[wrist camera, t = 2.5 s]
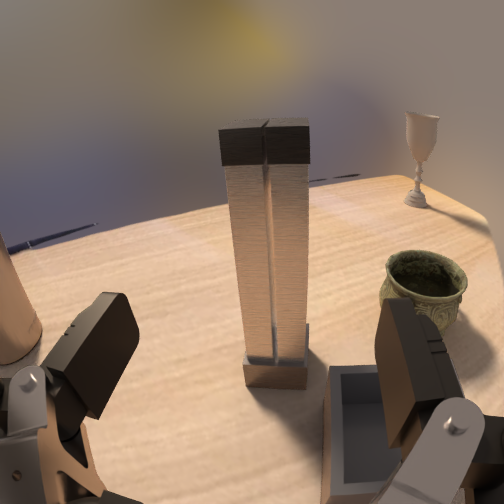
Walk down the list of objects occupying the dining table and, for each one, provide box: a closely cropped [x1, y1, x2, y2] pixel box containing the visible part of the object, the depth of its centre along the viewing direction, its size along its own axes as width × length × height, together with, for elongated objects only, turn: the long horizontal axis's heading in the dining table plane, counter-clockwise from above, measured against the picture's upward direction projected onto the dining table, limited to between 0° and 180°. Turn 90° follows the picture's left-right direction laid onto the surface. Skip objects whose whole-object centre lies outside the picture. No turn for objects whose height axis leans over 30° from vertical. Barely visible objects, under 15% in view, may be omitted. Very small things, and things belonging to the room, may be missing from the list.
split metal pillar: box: [219, 118, 310, 390], centre depth 22 cm, size 5×5×20 cm
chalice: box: [404, 112, 440, 208], centre depth 53 cm, size 7×7×18 cm
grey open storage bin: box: [320, 359, 465, 504], centre depth 17 cm, size 9×9×5 cm
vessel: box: [379, 250, 467, 337], centre depth 28 cm, size 12×9×6 cm
